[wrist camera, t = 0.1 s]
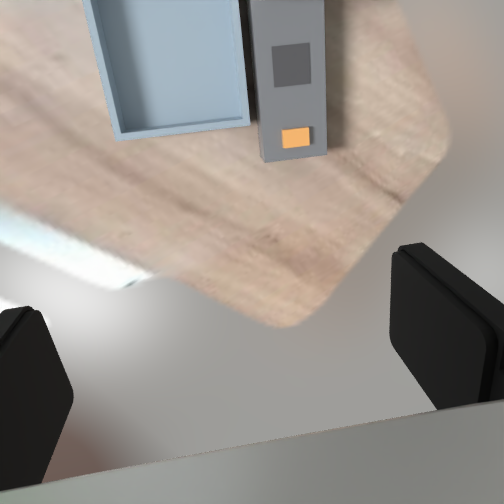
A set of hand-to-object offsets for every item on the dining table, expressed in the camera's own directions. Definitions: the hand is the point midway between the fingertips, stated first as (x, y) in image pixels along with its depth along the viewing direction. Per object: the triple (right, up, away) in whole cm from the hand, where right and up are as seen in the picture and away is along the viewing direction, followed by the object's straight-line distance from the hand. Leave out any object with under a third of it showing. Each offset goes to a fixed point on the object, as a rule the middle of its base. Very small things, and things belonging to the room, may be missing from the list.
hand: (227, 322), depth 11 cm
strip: (+3, +21, +25) cm, 33 cm away
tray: (-6, +20, +25) cm, 32 cm away
